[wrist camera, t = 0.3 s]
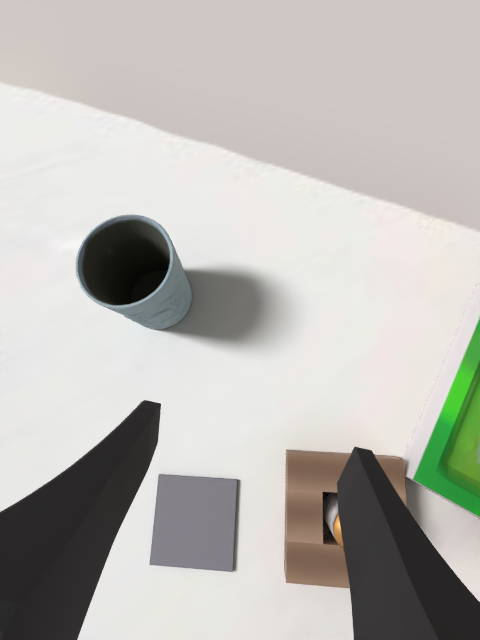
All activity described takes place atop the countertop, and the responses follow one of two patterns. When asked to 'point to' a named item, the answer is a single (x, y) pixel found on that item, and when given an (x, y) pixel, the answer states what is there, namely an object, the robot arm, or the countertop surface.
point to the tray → (452, 421)
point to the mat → (194, 523)
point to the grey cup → (134, 271)
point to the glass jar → (333, 517)
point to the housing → (320, 515)
